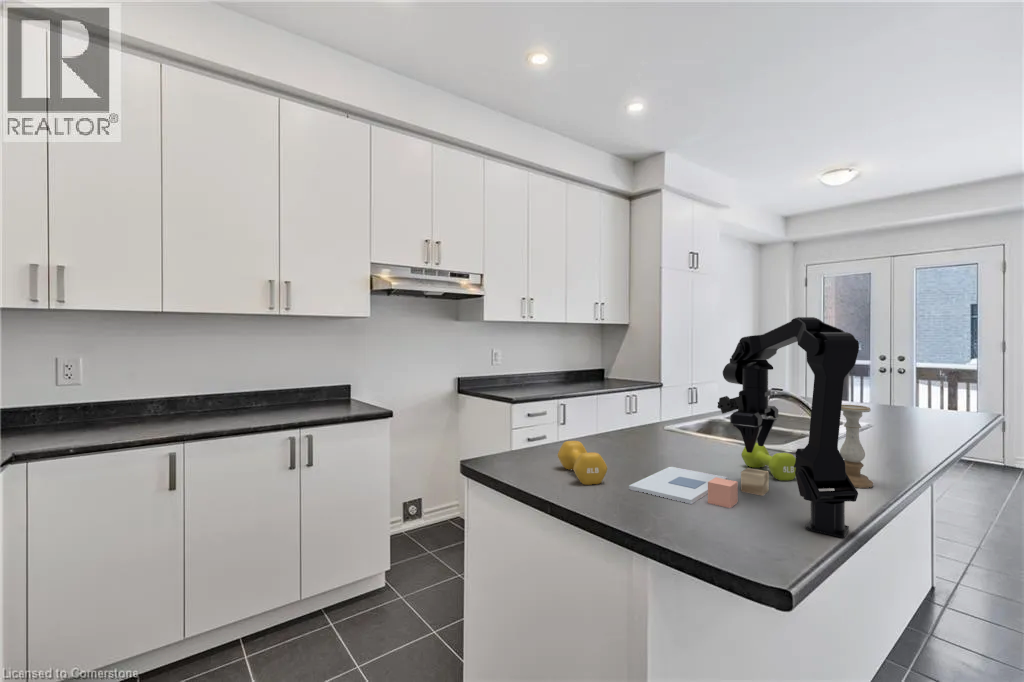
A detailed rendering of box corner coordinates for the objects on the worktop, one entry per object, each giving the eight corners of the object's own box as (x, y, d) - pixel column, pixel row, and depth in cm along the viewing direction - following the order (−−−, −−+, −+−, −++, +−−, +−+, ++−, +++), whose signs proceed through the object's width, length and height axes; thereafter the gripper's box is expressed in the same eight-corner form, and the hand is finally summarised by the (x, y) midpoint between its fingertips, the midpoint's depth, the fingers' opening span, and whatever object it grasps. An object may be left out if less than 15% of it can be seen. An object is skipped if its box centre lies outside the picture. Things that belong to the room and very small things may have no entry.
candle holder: (825, 481, 128) (825, 405, 128) (843, 476, 132) (844, 403, 132) (861, 490, 120) (861, 409, 120) (880, 485, 124) (880, 407, 124)
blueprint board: (691, 504, 111) (691, 499, 111) (629, 489, 121) (629, 484, 121) (727, 481, 128) (727, 476, 128) (670, 469, 139) (670, 465, 139)
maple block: (762, 496, 116) (762, 475, 116) (741, 491, 120) (741, 471, 120) (768, 491, 120) (768, 471, 120) (747, 487, 123) (747, 467, 123)
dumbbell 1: (556, 467, 142) (556, 440, 142) (585, 466, 144) (585, 439, 144) (576, 487, 124) (576, 456, 124) (609, 485, 125) (609, 454, 125)
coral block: (730, 508, 108) (730, 486, 108) (707, 503, 111) (707, 482, 111) (737, 502, 112) (737, 481, 112) (715, 498, 115) (715, 477, 115)
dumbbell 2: (802, 481, 128) (802, 454, 128) (774, 482, 127) (774, 455, 127) (764, 465, 144) (764, 441, 144) (739, 466, 144) (739, 442, 144)
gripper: (734, 382, 132) (734, 438, 132) (708, 387, 118) (708, 450, 118) (778, 384, 124) (779, 444, 124) (757, 390, 111) (757, 458, 111)
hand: (755, 449), depth 120 cm, fingers open, 9 cm apart
